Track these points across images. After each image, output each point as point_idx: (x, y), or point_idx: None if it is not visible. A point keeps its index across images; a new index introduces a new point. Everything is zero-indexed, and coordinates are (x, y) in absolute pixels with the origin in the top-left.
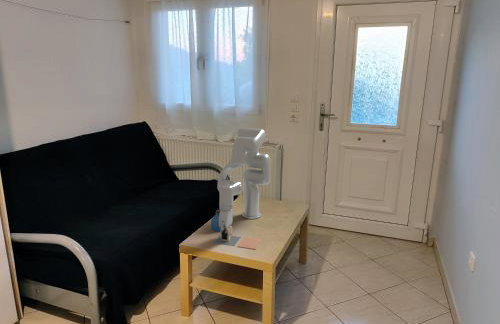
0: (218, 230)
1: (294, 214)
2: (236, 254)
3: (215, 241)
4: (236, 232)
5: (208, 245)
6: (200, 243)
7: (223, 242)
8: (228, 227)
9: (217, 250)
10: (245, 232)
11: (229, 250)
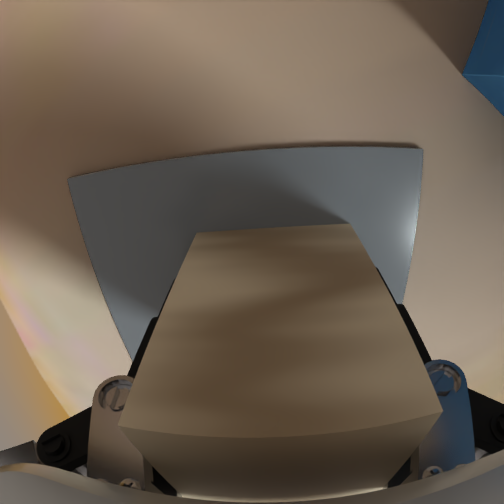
0: (491, 83)
1: None
2: (77, 413)
3: (116, 184)
4: (488, 308)
5: (9, 159)
6: (9, 40)
7: (154, 298)
8: (289, 498)
9: (10, 296)
10: (478, 367)
11: (77, 377)
